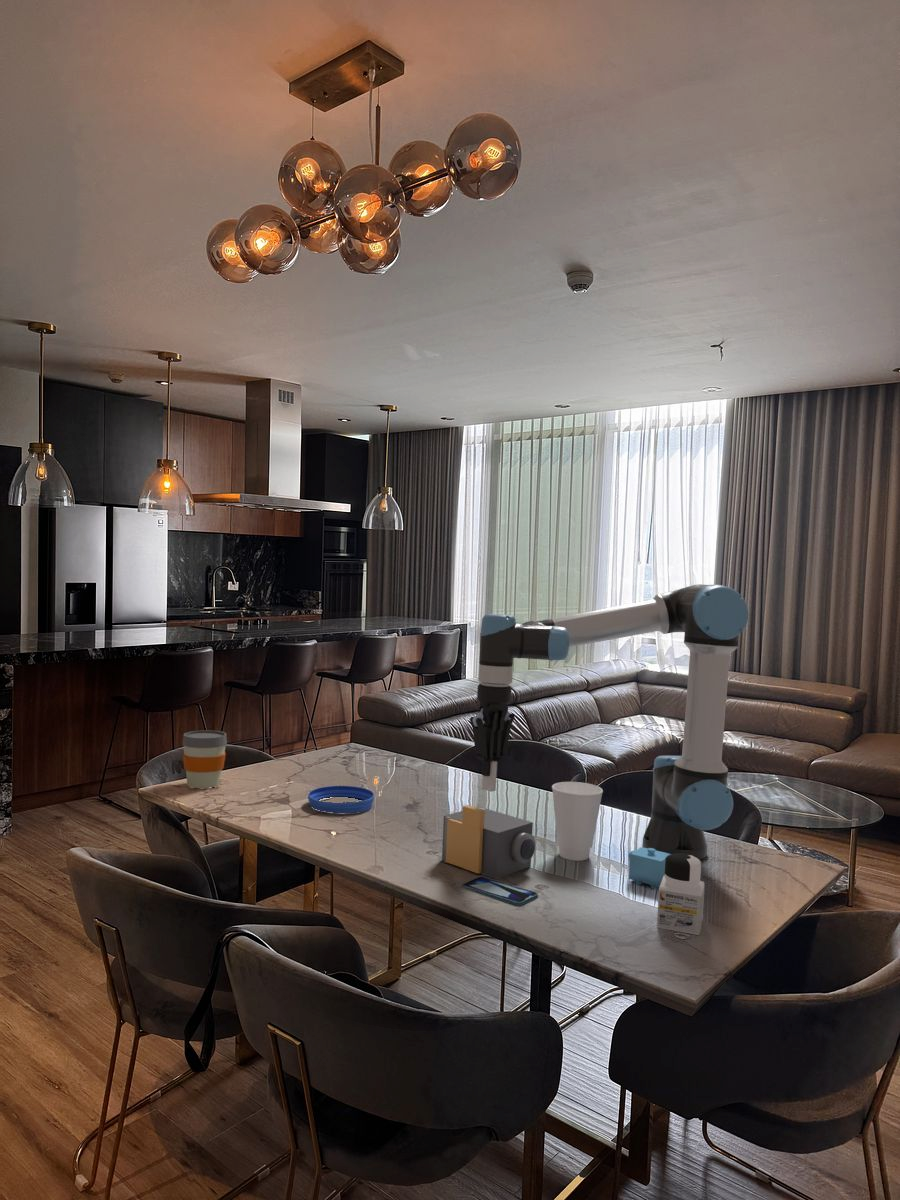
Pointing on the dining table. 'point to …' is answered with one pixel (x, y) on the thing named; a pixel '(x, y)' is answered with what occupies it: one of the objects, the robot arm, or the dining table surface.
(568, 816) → the cup
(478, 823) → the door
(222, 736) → the reusable coffee cup
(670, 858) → the container
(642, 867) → the teapot
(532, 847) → the case
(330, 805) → the blue flat round ring
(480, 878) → the smartphone
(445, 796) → the dining table surface
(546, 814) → the dining table surface
